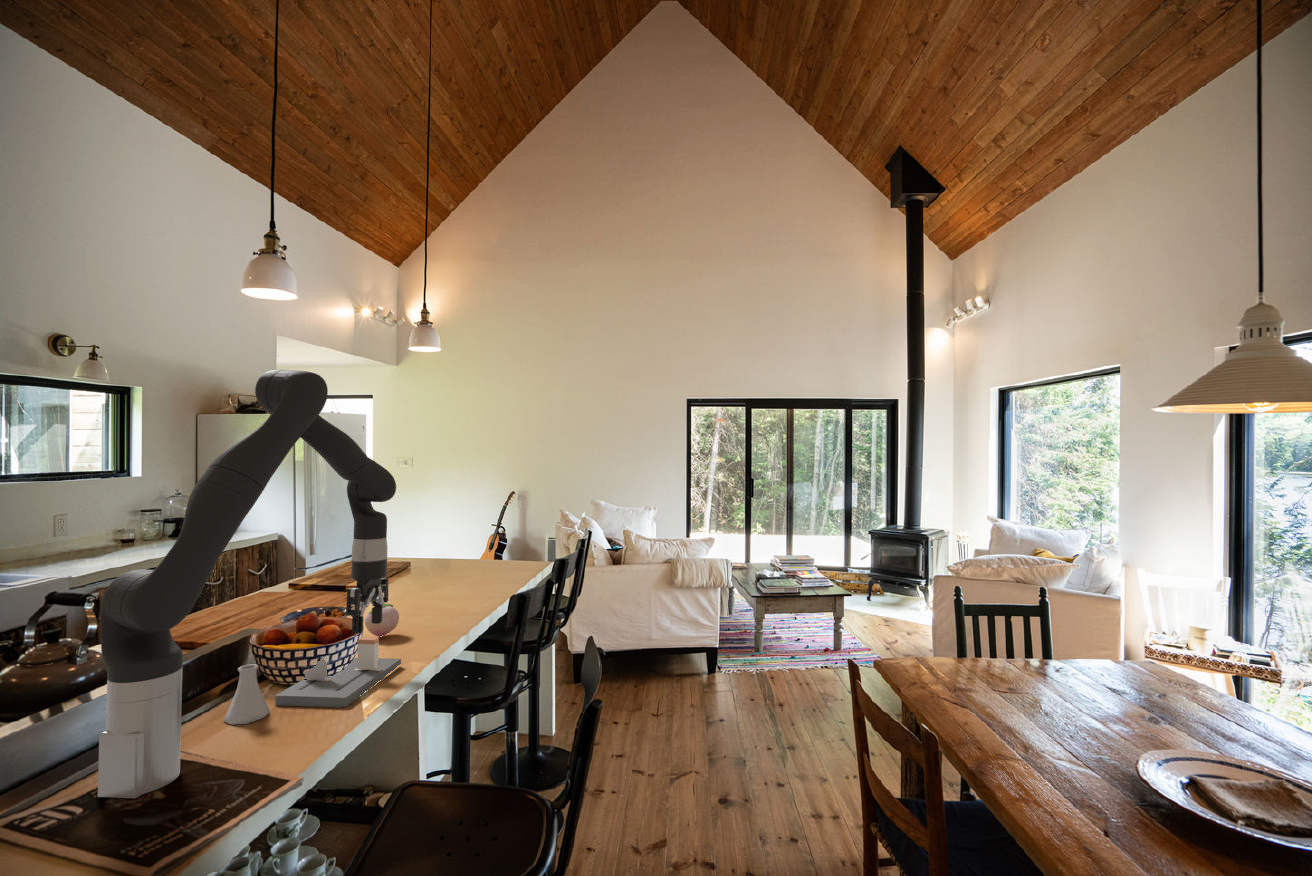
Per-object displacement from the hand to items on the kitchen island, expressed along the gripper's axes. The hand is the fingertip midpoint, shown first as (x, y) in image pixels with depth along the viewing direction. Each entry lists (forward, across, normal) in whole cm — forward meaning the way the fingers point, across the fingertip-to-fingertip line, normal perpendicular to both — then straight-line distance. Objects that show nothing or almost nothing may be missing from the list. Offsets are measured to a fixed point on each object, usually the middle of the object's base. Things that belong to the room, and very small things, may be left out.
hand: (367, 628), depth 143 cm
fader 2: (+9, 0, 0) cm, 9 cm away
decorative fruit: (+12, +31, +12) cm, 36 cm away
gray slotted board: (+12, -4, +3) cm, 13 cm away
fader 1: (+9, -7, +8) cm, 14 cm away
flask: (+12, -22, +12) cm, 28 cm away
